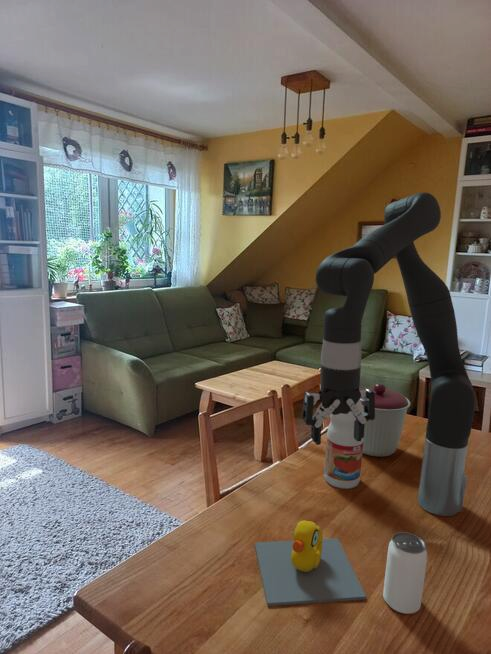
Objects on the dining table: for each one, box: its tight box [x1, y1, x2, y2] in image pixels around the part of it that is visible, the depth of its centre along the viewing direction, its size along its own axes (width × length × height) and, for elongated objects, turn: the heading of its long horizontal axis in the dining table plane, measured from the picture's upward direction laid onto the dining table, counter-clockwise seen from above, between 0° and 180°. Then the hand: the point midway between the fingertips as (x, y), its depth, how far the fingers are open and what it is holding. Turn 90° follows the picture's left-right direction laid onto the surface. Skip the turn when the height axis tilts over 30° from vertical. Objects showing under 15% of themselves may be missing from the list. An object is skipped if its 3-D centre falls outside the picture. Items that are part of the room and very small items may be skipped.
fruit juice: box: [323, 399, 364, 490], centre depth 120 cm, size 9×9×28 cm
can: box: [382, 531, 428, 615], centre depth 81 cm, size 6×6×12 cm
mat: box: [254, 538, 367, 607], centre depth 89 cm, size 18×16×1 cm
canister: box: [359, 382, 411, 458], centre depth 139 cm, size 18×18×21 cm
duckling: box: [291, 519, 323, 572], centre depth 88 cm, size 11×5×10 cm, turn 149°
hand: (337, 441), depth 91 cm, fingers open, 8 cm apart
